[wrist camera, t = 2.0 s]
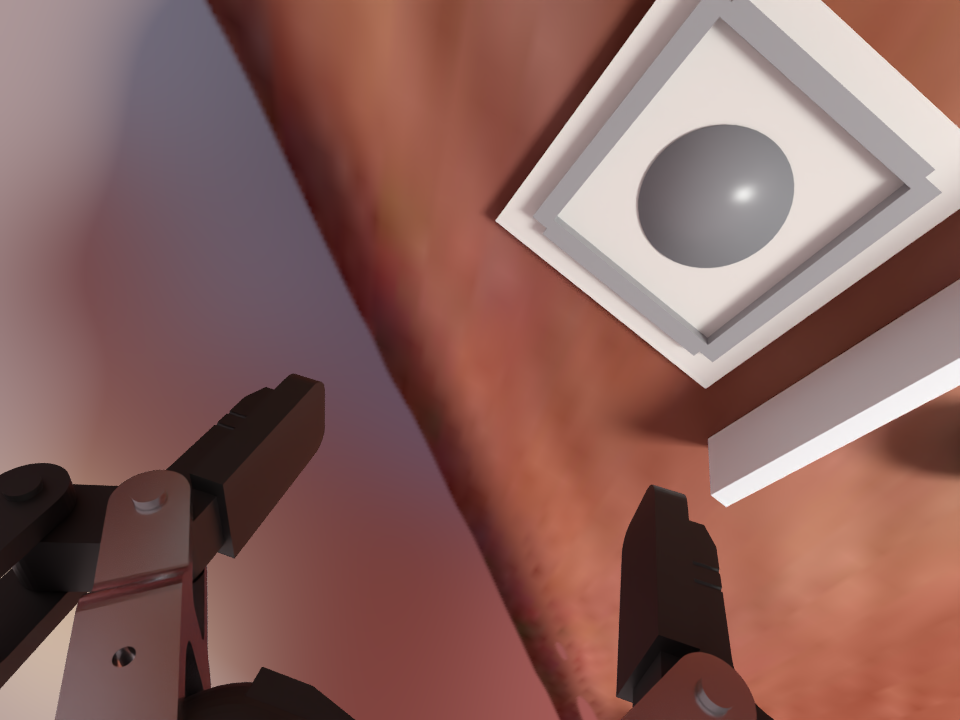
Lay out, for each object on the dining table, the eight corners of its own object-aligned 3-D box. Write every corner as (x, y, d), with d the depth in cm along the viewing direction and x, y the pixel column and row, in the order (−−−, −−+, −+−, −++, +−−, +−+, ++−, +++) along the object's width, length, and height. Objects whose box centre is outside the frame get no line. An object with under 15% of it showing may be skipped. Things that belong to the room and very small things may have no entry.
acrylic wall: (1142, 163, 21) (1246, 200, 17) (1162, 182, 21) (1269, 223, 17) (707, 438, 35) (710, 495, 31) (721, 449, 35) (726, 506, 31)
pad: (721, -89, 21) (723, -95, 20) (999, 169, 23) (1018, 179, 21) (499, 216, 31) (491, 225, 30) (705, 381, 32) (705, 396, 31)
